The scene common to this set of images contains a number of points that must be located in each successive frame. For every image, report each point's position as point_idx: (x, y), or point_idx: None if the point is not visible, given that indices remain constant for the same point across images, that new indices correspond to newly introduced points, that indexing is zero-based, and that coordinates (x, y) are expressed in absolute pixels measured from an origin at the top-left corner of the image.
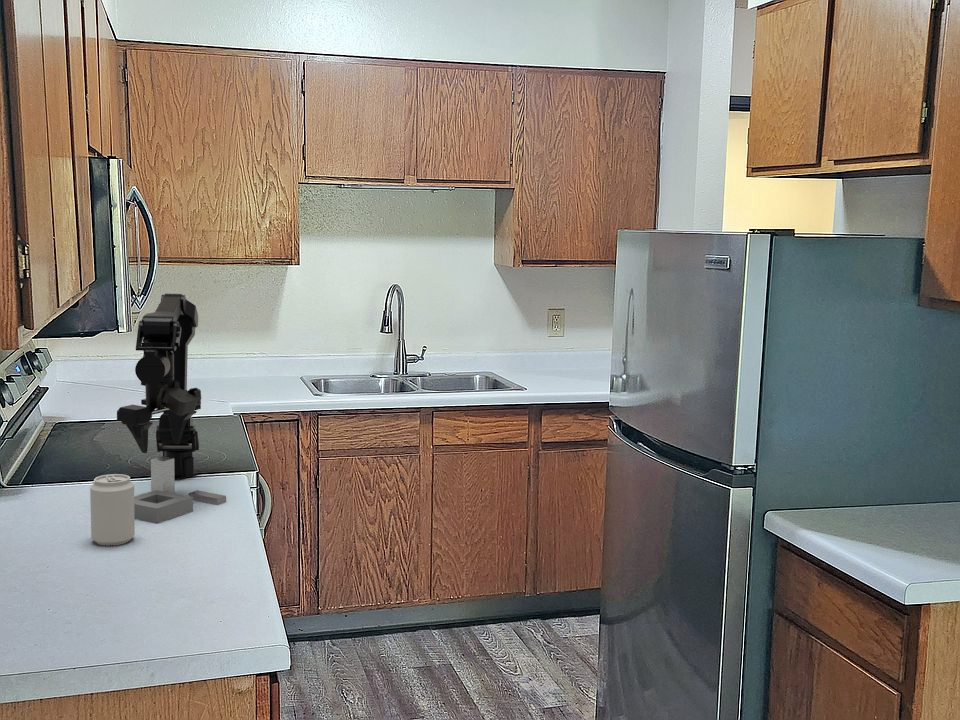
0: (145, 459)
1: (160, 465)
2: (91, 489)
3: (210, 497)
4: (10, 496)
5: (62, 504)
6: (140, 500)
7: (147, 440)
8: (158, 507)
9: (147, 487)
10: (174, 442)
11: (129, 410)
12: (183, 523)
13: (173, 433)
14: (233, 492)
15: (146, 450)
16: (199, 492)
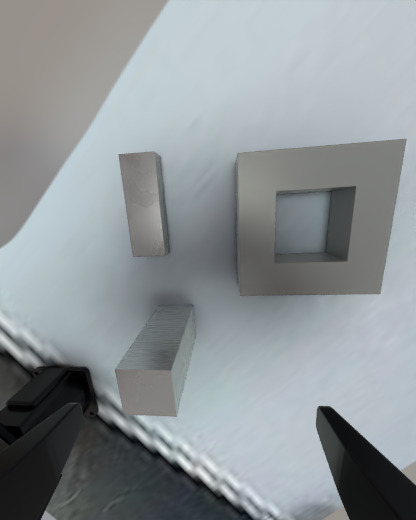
0: None
1: (176, 367)
2: None
3: (157, 176)
4: (339, 505)
5: None
6: (348, 252)
7: (402, 513)
8: (394, 144)
9: None
10: (79, 426)
11: None
12: (336, 92)
13: (31, 506)
14: (62, 211)
15: (337, 418)
16: (143, 237)
